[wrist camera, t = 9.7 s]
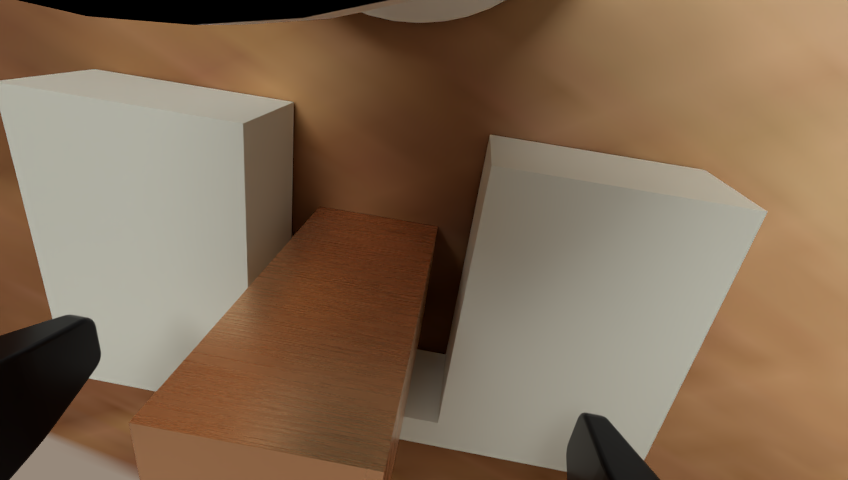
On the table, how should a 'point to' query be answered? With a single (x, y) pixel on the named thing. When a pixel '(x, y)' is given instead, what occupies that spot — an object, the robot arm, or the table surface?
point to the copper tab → (301, 363)
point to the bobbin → (269, 10)
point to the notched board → (481, 277)
